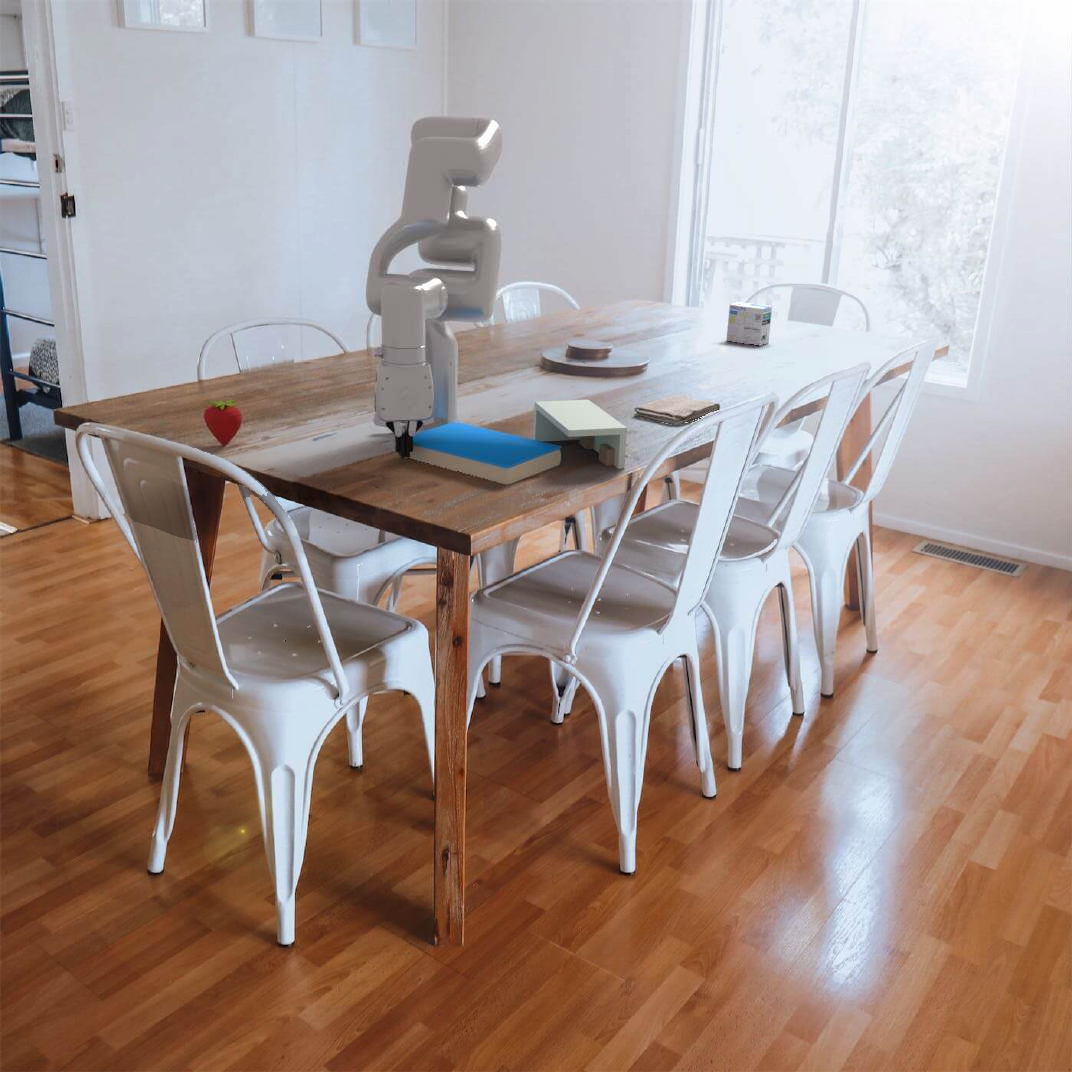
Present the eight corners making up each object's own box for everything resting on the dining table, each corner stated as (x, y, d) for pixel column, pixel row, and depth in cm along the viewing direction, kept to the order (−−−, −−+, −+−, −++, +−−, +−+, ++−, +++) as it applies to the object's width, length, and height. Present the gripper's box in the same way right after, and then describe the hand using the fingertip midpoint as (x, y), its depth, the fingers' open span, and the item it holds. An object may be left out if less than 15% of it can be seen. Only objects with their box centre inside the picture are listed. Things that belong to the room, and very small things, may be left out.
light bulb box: (769, 343, 325) (773, 305, 321) (760, 346, 319) (764, 308, 315) (734, 338, 330) (738, 301, 326) (725, 341, 324) (729, 303, 321)
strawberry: (219, 438, 214) (216, 386, 210) (251, 444, 211) (248, 392, 207) (197, 445, 209) (194, 392, 205) (230, 452, 206) (226, 398, 202)
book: (508, 466, 192) (397, 437, 205) (507, 490, 194) (397, 459, 207) (563, 445, 206) (456, 418, 219) (562, 467, 207) (455, 440, 220)
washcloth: (630, 418, 241) (631, 404, 240) (673, 404, 254) (674, 390, 253) (678, 429, 234) (679, 415, 233) (720, 413, 248) (721, 400, 247)
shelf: (566, 471, 202) (569, 430, 199) (533, 440, 221) (534, 401, 218) (624, 468, 205) (627, 427, 203) (586, 437, 224) (588, 399, 221)
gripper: (363, 360, 191) (365, 464, 197) (450, 358, 195) (449, 460, 202) (357, 351, 198) (359, 451, 204) (441, 349, 202) (440, 448, 208)
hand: (404, 455), depth 203 cm, fingers closed
